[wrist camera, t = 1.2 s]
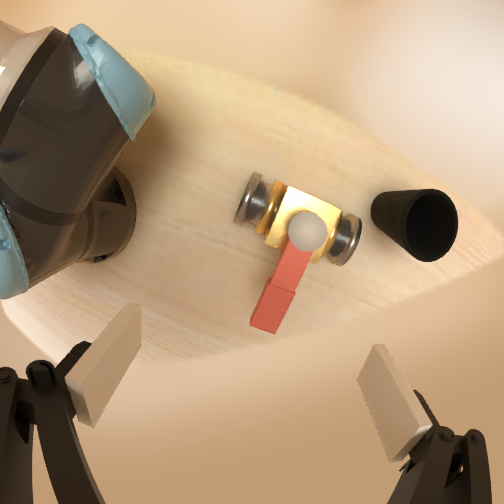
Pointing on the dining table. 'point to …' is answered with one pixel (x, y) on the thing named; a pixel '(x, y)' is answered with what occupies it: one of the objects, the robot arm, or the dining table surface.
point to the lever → (289, 270)
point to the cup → (417, 221)
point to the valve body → (285, 207)
